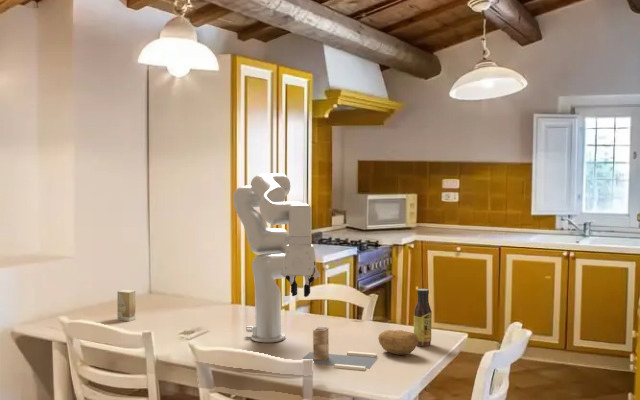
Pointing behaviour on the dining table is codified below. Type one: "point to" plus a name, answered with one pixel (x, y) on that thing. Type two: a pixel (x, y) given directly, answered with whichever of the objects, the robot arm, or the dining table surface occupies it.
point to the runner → (347, 360)
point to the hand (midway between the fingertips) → (300, 295)
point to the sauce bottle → (423, 318)
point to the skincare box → (126, 305)
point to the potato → (398, 341)
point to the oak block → (320, 343)
